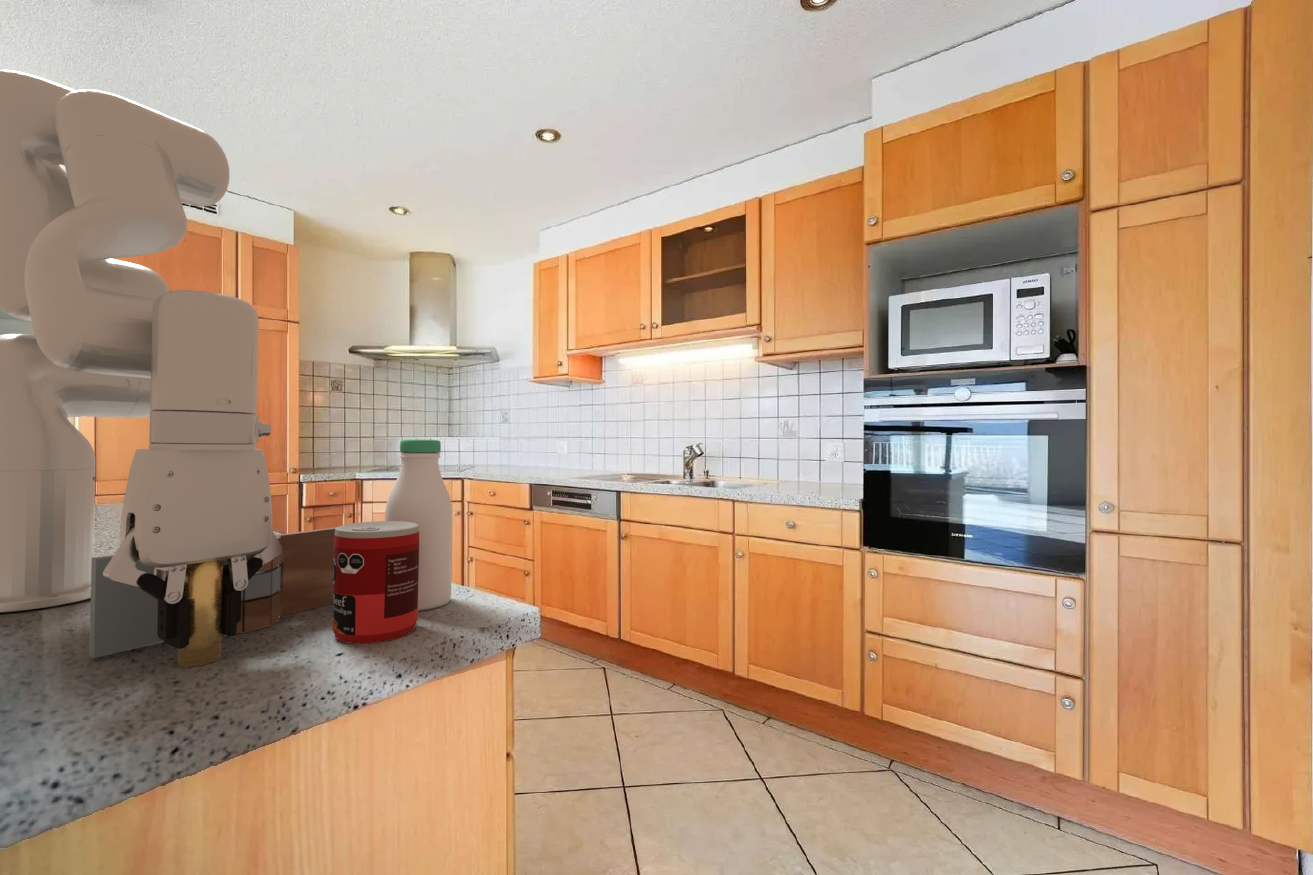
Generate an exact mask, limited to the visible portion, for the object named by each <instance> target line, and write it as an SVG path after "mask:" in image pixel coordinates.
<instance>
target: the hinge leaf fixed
mask: <svg viewBox="0 0 1313 875" xmlns="http://www.w3.org/2000/svg"><path fill="white" fill-rule="evenodd" d="M337 527H338V526H336V527H335V526H334V527H327V528H321V529H320V528H319V529H311V530H305V531H296V532H289V533H281V534H279V533H278V534H275V536H276V538H277V540H278V541H279V543H280V545H281V546H282V549H283V551H282V553H281V554H280V555H279V556H277V557H275V558H274V559H272V560H271V561H269V562H268V563H266V564H264V565H262V567H261V568H260V569H259V570H258V571H257V572H259V571H265V570H271V569H273V568H275V567H277V566H280V567H281V574H280V589H279V590H278V591H276V592H275V593H273V594H271V595H268V596H263V597H258V598H254V599H249V600H243V601H241V619H240V621H239V622H238V623H237V631H236V634H242V633H249V632H252V631H256V630H261V629H265V628H268V627H270V626H273V625H274V624H275V623H277V622H278V621H279V620H281V619H280V617H282V616H287V615H291V614H294V613H299V612H303V611H307V610H311V609H315V608H320V607H323V606H328V605H333V565H334V534H335V528H337ZM247 556H249V555H247Z"/></svg>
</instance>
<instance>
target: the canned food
mask: <svg viewBox="0 0 1313 875" xmlns="http://www.w3.org/2000/svg"><path fill="white" fill-rule="evenodd" d="M336 527H337V528H335V534H334V565H333V604H332V631H333V632H332V633H333V635H334V637H335V639H337V640H338V641H340V642H343V643H346V644H347V643H349V644H375V643H383V642H389V641H393V640H396V639H399V638H402V637H405V636H407V635H409V634H410V633H412V632H413V631H414V630H415V629H416V626H417V622H418V618H419V617H418V612H419V611H418V579H419V525H418V524H416V523H412V522H403V521H385V520H383V521H381V520H379V521H376V520H375V521H364V522H363V521H362V522H353V523H347V524H342V525H339V526H336Z"/></svg>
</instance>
